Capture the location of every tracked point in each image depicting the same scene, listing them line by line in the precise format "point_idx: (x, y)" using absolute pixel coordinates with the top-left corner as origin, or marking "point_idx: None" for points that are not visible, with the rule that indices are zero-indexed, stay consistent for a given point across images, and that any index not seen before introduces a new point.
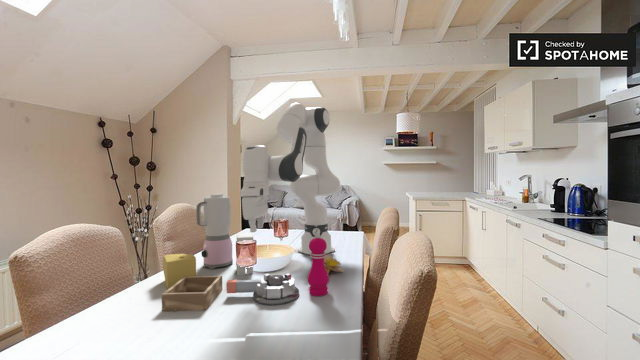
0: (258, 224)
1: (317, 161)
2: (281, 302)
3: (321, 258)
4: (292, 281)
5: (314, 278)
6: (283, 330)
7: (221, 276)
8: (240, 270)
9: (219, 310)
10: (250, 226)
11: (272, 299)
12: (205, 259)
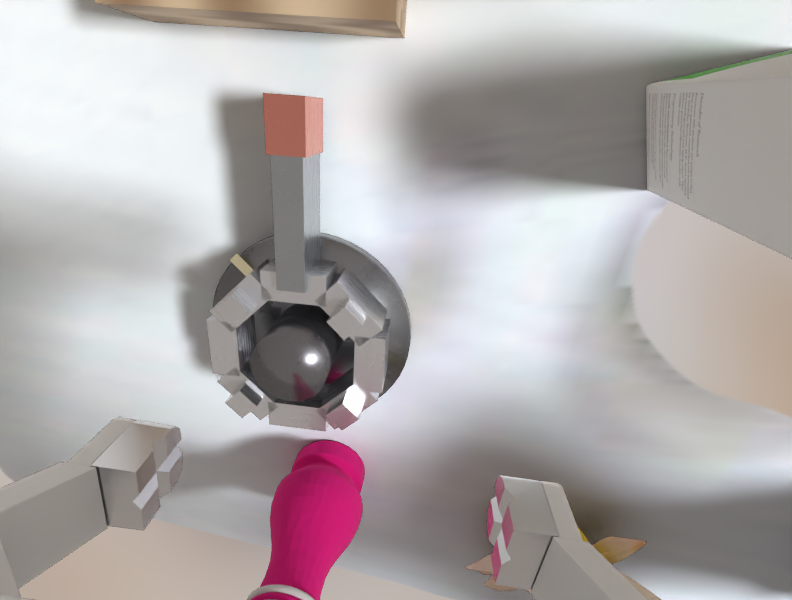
0: (503, 525)
1: None
2: None
3: None
4: (294, 421)
5: (273, 506)
6: (60, 346)
7: (382, 20)
8: (660, 107)
9: (160, 94)
10: (49, 474)
11: None
12: None
